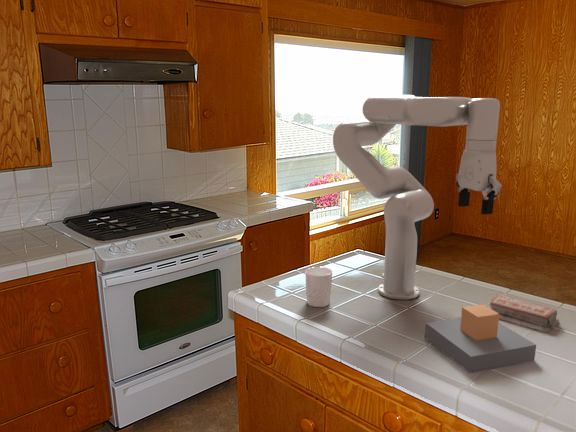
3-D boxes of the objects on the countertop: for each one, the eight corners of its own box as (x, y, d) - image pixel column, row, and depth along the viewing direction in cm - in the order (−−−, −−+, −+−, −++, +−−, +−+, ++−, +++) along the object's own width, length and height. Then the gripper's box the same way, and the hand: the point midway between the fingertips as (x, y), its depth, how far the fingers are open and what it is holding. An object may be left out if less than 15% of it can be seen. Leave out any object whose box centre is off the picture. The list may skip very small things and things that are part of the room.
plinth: (424, 337, 131) (425, 322, 130) (483, 327, 136) (484, 313, 135) (469, 372, 114) (471, 356, 113) (534, 360, 120) (536, 344, 119)
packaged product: (561, 306, 139) (549, 318, 132) (559, 323, 140) (547, 335, 133) (495, 289, 151) (481, 298, 144) (494, 304, 153) (479, 314, 146)
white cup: (317, 310, 147) (318, 277, 145) (299, 302, 153) (299, 270, 151) (337, 303, 152) (337, 271, 150) (318, 295, 158) (319, 265, 155)
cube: (460, 329, 126) (462, 307, 125) (480, 326, 128) (482, 304, 127) (475, 340, 121) (478, 317, 119) (496, 337, 122) (499, 313, 121)
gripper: (448, 143, 141) (443, 204, 145) (490, 150, 125) (484, 218, 129) (471, 142, 143) (466, 202, 147) (515, 149, 127) (508, 216, 131)
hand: (474, 209), depth 138 cm, fingers open, 9 cm apart
